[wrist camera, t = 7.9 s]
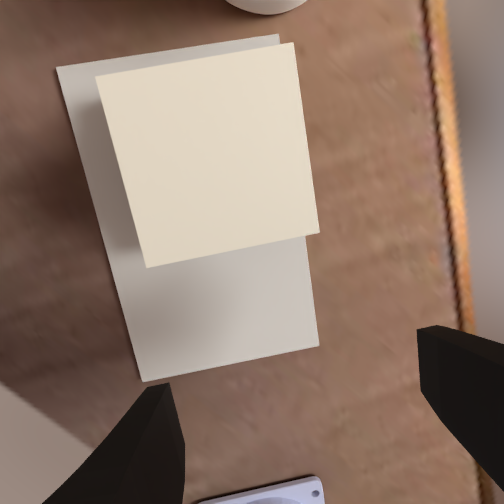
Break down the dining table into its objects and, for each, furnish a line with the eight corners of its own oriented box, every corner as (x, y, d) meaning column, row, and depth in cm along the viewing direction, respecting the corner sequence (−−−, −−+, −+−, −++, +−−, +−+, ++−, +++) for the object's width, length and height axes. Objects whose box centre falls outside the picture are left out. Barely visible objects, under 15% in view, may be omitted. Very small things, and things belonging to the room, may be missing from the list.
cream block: (278, 204, 16) (319, 232, 10) (170, 226, 15) (146, 267, 9) (259, 88, 14) (293, 41, 9) (141, 109, 14) (94, 76, 8)
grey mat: (317, 342, 22) (319, 345, 21) (143, 378, 21) (142, 382, 21) (277, 36, 18) (278, 33, 17) (59, 69, 17) (55, 67, 16)
